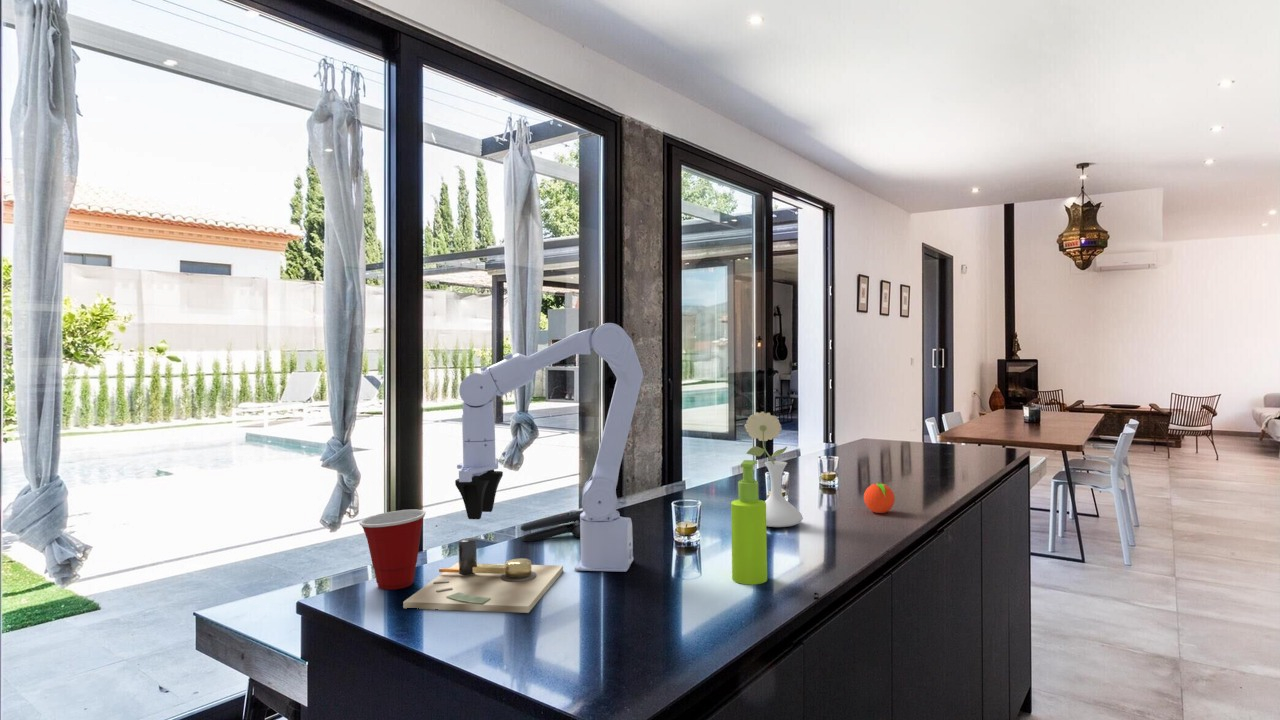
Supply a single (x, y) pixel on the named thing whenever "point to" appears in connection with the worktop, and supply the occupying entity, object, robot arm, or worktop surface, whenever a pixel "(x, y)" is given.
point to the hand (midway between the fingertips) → (480, 515)
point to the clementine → (879, 498)
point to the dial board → (485, 591)
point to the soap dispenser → (749, 531)
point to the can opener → (553, 531)
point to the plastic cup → (394, 546)
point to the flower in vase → (772, 471)
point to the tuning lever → (470, 566)
